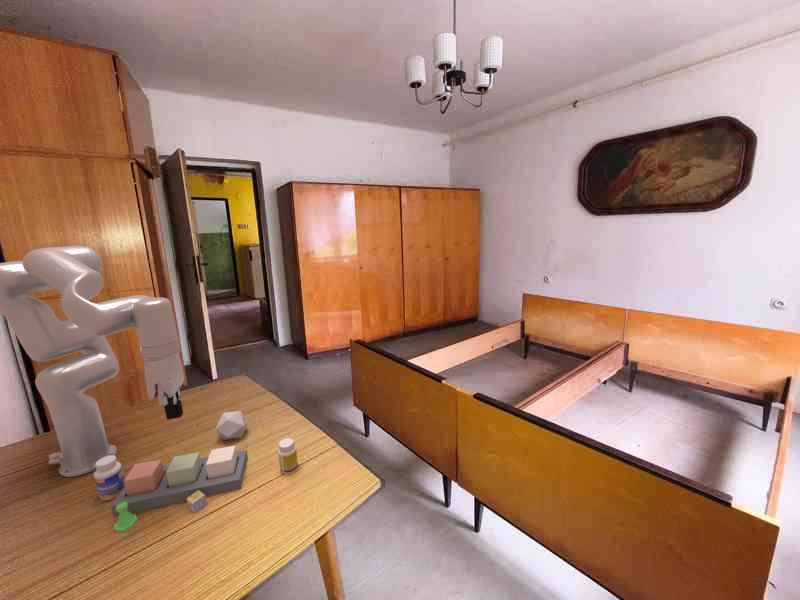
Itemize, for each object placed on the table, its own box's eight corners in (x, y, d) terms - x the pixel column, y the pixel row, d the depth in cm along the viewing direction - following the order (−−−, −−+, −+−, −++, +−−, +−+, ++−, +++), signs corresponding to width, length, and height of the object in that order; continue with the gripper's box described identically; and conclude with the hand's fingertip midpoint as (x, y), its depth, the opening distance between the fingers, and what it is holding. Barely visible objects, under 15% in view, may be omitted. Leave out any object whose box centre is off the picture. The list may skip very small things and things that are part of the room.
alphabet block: (194, 513, 79) (192, 503, 78) (188, 508, 81) (186, 498, 80) (207, 504, 82) (205, 494, 81) (200, 499, 83) (198, 489, 83)
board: (113, 517, 79) (110, 506, 78) (136, 480, 90) (134, 471, 89) (240, 488, 86) (239, 479, 86) (247, 458, 97) (246, 449, 97)
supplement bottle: (301, 465, 94) (298, 439, 92) (289, 476, 90) (286, 450, 88) (288, 460, 96) (285, 435, 94) (276, 471, 92) (273, 445, 90)
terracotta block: (127, 497, 81) (123, 481, 80) (138, 480, 87) (135, 464, 86) (155, 492, 83) (152, 475, 82) (165, 475, 89) (161, 459, 87)
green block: (169, 489, 84) (165, 472, 83) (177, 472, 89) (174, 456, 88) (195, 483, 86) (192, 467, 84) (202, 467, 91) (199, 452, 90)
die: (232, 449, 102) (249, 419, 104) (205, 437, 101) (223, 407, 103) (240, 442, 111) (256, 414, 113) (215, 430, 110) (232, 402, 112)
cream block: (208, 480, 86) (205, 464, 85) (214, 465, 92) (211, 449, 91) (233, 475, 88) (231, 459, 87) (237, 460, 94) (235, 445, 92)
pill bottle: (96, 504, 82) (87, 471, 80) (103, 489, 87) (95, 457, 85) (124, 495, 85) (115, 463, 82) (129, 481, 89) (121, 450, 87)
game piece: (111, 535, 74) (105, 514, 72) (118, 520, 78) (112, 499, 76) (134, 528, 76) (129, 507, 74) (140, 513, 79) (135, 493, 78)
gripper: (155, 340, 85) (169, 404, 89) (127, 363, 71) (145, 437, 75) (188, 337, 87) (200, 399, 91) (167, 358, 73) (182, 431, 77)
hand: (175, 416), depth 83 cm, fingers closed
